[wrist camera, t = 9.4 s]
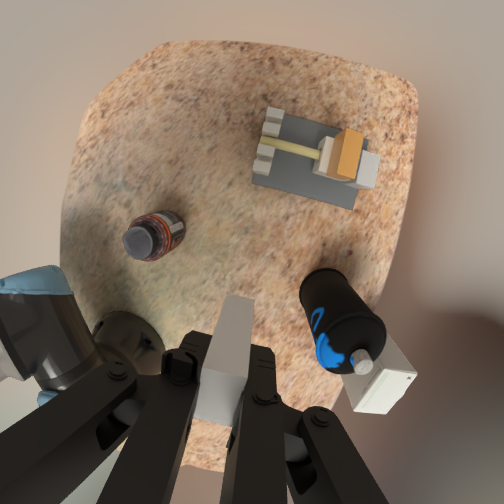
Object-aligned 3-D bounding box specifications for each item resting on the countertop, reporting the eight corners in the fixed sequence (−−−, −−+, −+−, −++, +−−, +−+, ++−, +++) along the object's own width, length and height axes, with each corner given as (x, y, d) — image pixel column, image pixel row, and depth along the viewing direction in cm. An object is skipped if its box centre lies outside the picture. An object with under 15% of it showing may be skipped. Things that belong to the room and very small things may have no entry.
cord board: (252, 183, 39) (249, 181, 31) (269, 113, 36) (270, 95, 28) (349, 209, 39) (368, 214, 31) (365, 141, 36) (386, 132, 28)
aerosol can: (342, 260, 41) (399, 317, 21) (353, 306, 42) (403, 380, 23) (292, 277, 42) (314, 349, 22) (306, 322, 43) (330, 408, 24)
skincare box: (350, 311, 42) (385, 365, 27) (381, 321, 43) (421, 371, 28) (329, 351, 44) (351, 412, 29) (359, 359, 45) (387, 416, 29)
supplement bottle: (169, 255, 42) (139, 278, 31) (144, 229, 41) (107, 243, 30) (194, 229, 40) (169, 244, 29) (167, 201, 40) (134, 207, 29)
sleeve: (311, 174, 34) (327, 170, 25) (319, 139, 33) (337, 124, 24) (339, 183, 34) (363, 182, 25) (347, 148, 33) (372, 137, 24)
